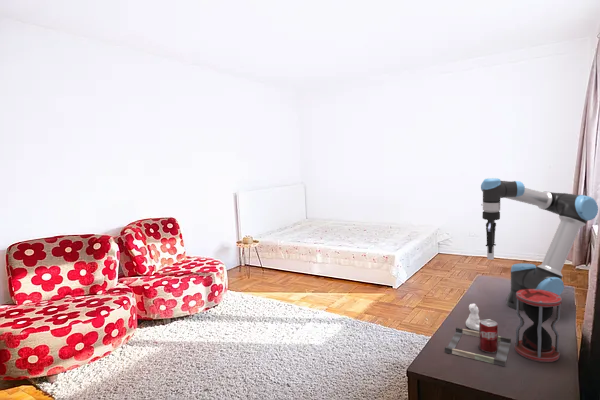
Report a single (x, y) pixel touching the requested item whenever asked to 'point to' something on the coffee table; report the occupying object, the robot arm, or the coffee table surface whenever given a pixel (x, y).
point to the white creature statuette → (473, 318)
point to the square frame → (499, 359)
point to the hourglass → (537, 325)
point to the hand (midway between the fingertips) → (490, 259)
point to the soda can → (488, 336)
